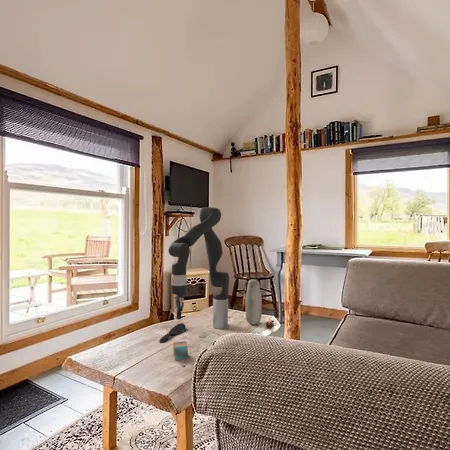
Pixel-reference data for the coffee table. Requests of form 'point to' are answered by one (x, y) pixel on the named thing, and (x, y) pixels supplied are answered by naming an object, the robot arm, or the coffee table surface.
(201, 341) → the coffee table surface
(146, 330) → the coffee table surface
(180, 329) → the hairbrush
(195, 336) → the coffee table surface
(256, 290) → the grey green rounded cylinder
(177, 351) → the two tone block
